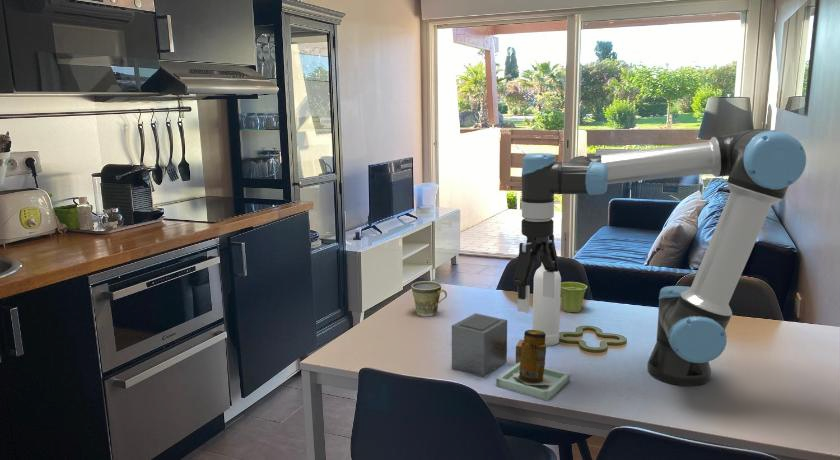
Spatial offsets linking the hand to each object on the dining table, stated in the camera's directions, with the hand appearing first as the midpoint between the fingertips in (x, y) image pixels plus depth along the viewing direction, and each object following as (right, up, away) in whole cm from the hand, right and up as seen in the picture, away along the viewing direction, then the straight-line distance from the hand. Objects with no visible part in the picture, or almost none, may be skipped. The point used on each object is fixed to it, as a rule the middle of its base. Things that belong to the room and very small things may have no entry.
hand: (536, 303), depth 154 cm
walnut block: (+1, -18, +18) cm, 26 cm away
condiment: (0, -20, +3) cm, 20 cm away
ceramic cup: (-25, -10, +57) cm, 63 cm away
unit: (-12, -18, +16) cm, 27 cm away
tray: (0, -21, +4) cm, 21 cm away
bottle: (+9, -15, +32) cm, 36 cm away
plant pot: (+23, -9, +59) cm, 64 cm away
